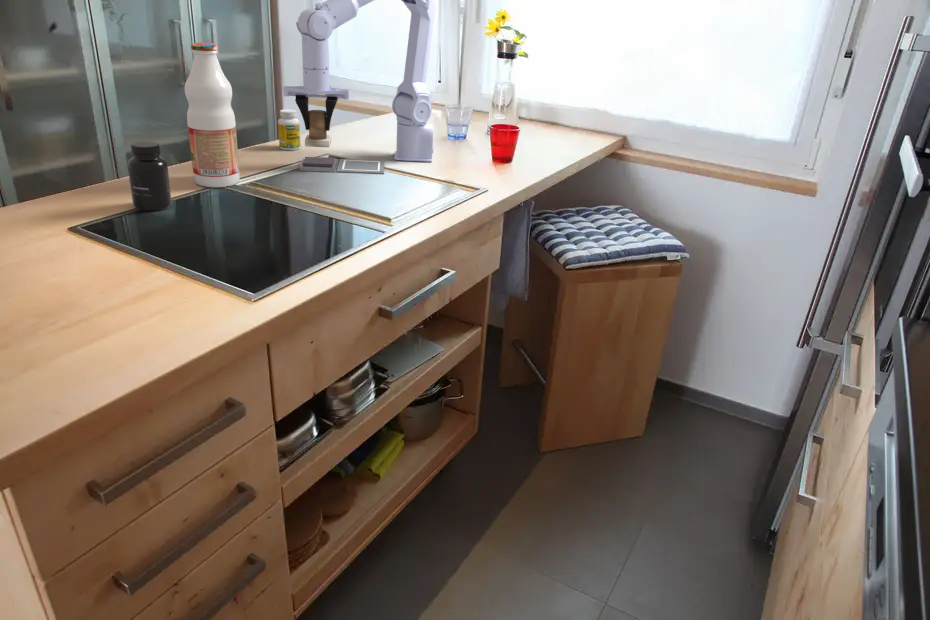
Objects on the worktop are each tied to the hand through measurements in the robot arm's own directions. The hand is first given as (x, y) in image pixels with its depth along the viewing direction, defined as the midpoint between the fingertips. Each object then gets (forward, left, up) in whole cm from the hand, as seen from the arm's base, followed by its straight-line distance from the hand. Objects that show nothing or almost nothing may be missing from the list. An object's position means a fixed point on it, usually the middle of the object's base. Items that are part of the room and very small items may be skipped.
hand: (317, 129), depth 159 cm
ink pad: (0, 0, -9) cm, 9 cm away
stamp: (0, 0, -3) cm, 3 cm away
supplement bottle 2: (+9, -17, -9) cm, 21 cm away
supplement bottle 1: (+28, +32, -9) cm, 44 cm away
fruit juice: (+20, +15, -9) cm, 27 cm away
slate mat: (-10, -2, -9) cm, 14 cm away
